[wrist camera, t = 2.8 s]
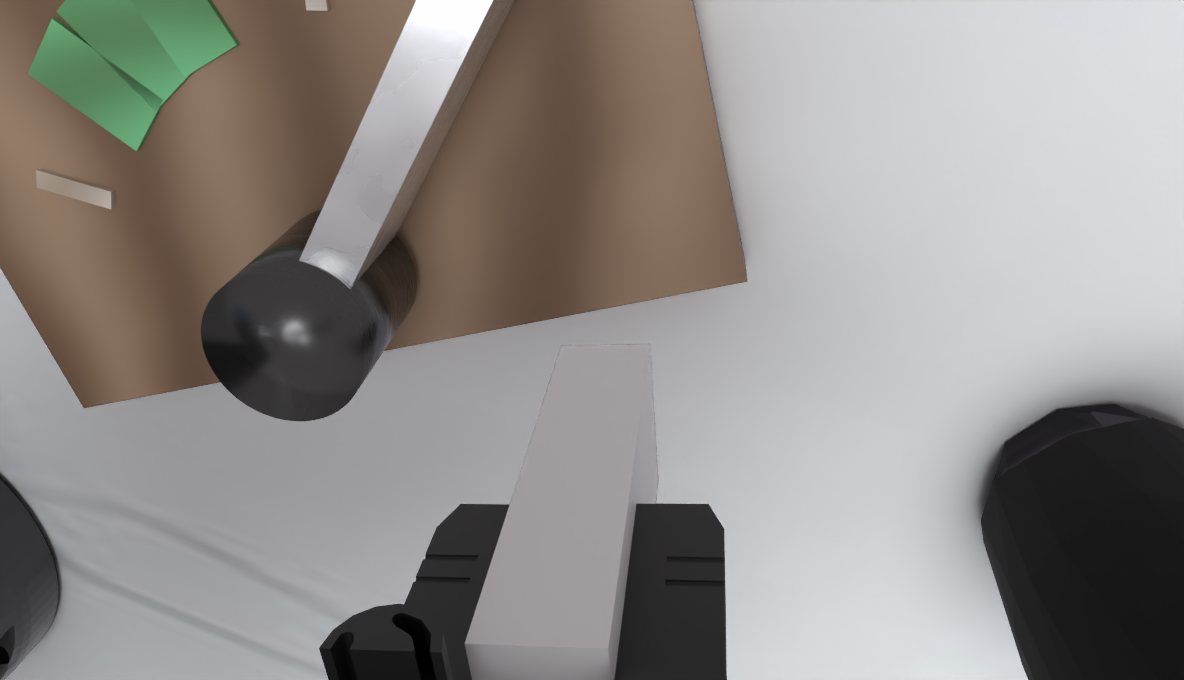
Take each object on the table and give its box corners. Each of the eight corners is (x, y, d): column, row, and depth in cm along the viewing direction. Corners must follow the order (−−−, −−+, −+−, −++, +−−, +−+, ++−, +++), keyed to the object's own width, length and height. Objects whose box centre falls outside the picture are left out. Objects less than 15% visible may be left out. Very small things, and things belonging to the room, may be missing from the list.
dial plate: (108, 386, 33) (80, 411, 32) (-112, 3, 28) (-159, 11, 26) (745, 262, 28) (747, 283, 27) (644, -242, 22) (640, -250, 21)
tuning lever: (383, 360, 29) (326, 447, 25) (260, 293, 29) (180, 370, 24) (573, 9, 23) (543, 41, 19) (425, -84, 23) (358, -74, 18)
